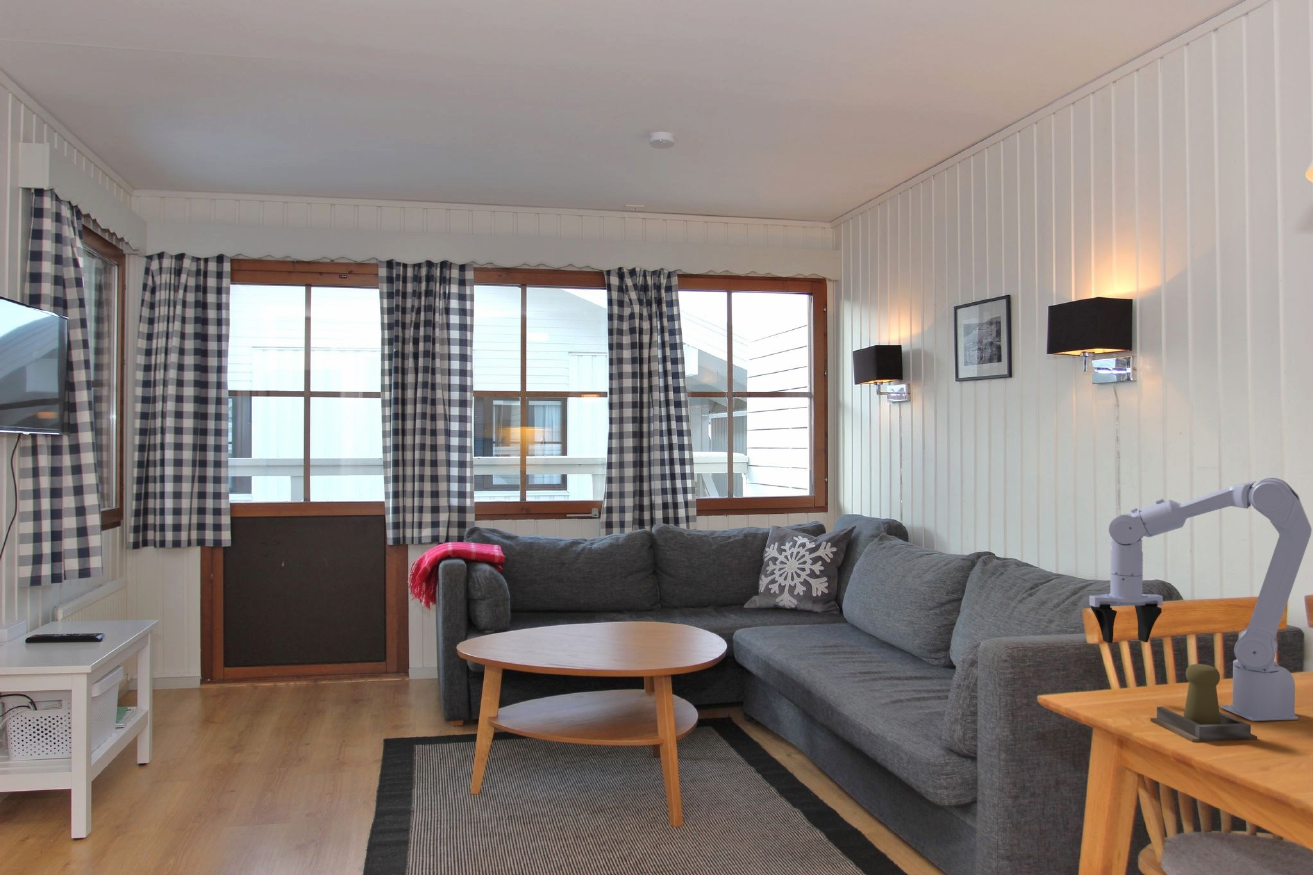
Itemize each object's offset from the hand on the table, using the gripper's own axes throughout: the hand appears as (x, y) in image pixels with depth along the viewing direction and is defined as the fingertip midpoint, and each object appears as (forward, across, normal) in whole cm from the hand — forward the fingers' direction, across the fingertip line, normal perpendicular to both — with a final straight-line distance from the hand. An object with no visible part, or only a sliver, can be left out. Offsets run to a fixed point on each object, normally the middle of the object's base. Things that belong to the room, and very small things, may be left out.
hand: (1125, 641), depth 183 cm
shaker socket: (+10, 0, +21) cm, 23 cm away
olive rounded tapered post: (+10, 0, +22) cm, 24 cm away
